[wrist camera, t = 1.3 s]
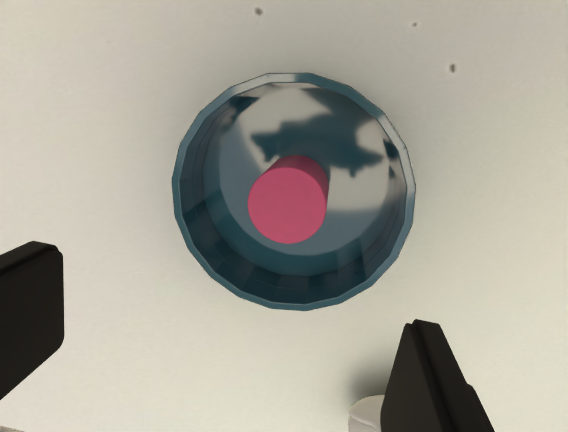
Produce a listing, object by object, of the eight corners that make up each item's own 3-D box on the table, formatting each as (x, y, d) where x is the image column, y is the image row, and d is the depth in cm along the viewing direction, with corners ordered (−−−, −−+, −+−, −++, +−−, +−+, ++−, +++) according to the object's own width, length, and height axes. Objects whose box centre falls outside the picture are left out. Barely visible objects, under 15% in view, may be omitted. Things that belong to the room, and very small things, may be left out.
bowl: (159, 160, 27) (126, 171, 23) (323, 29, 24) (319, 13, 19) (275, 311, 30) (265, 346, 25) (443, 212, 26) (463, 234, 21)
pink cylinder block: (251, 179, 26) (231, 196, 22) (303, 141, 25) (295, 150, 20) (288, 230, 27) (277, 257, 22) (341, 195, 26) (342, 217, 21)
